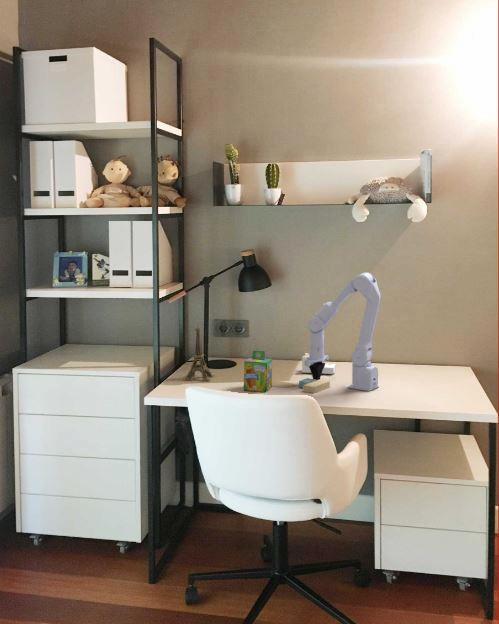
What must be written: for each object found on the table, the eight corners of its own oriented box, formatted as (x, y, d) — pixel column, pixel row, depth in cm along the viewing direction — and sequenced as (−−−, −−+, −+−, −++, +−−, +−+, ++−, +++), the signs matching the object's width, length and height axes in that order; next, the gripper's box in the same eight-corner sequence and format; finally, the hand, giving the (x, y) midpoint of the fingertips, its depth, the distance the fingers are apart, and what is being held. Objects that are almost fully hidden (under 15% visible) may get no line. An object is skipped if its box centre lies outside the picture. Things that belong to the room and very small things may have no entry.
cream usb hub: (329, 387, 297) (329, 381, 297) (314, 393, 288) (314, 386, 288) (318, 385, 300) (318, 379, 300) (303, 391, 291) (303, 384, 291)
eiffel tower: (189, 375, 319) (188, 315, 316) (214, 376, 318) (213, 316, 314) (183, 381, 309) (182, 319, 305) (208, 382, 307) (208, 320, 304)
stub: (316, 385, 300) (316, 379, 299) (307, 388, 295) (307, 382, 295) (307, 384, 302) (307, 377, 302) (299, 387, 297) (299, 380, 297)
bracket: (302, 374, 320) (302, 356, 319) (305, 370, 327) (305, 353, 326) (333, 376, 317) (333, 358, 316) (335, 372, 324) (335, 354, 323)
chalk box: (243, 391, 292) (243, 353, 290) (249, 385, 301) (249, 348, 299) (267, 392, 290) (267, 354, 288) (272, 386, 299) (272, 349, 297)
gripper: (317, 343, 309) (317, 376, 311) (297, 348, 298) (297, 383, 300) (333, 345, 305) (332, 378, 307) (313, 350, 294) (313, 385, 296)
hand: (316, 380), depth 303 cm, fingers closed
